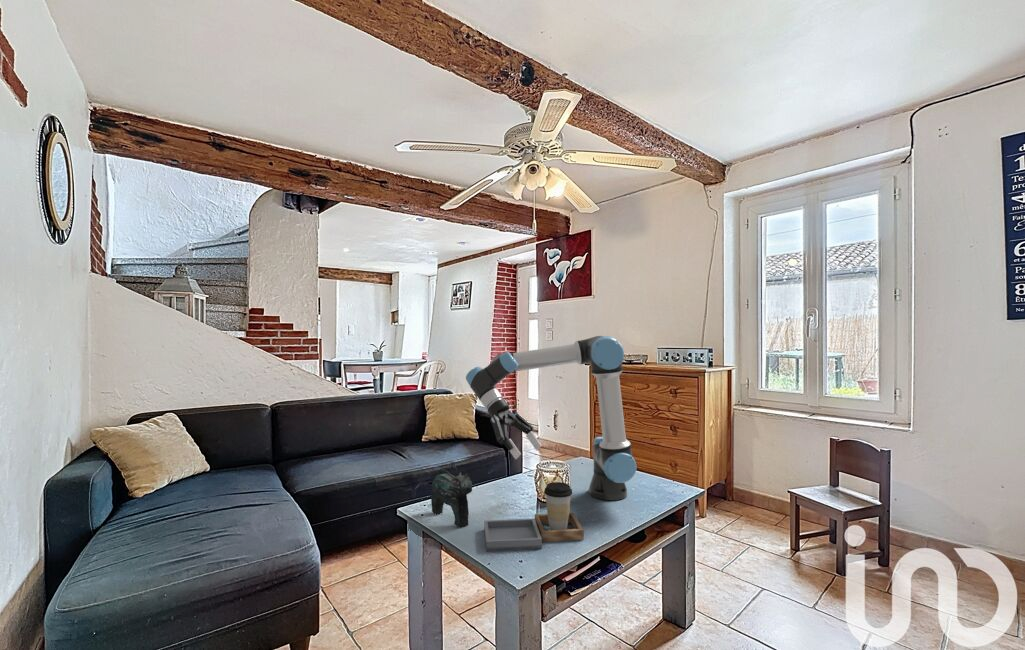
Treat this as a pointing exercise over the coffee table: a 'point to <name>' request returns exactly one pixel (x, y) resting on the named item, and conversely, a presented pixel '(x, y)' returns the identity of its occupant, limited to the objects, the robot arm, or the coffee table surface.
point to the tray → (512, 535)
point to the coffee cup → (558, 504)
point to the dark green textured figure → (452, 495)
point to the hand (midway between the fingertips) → (529, 452)
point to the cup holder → (558, 534)
